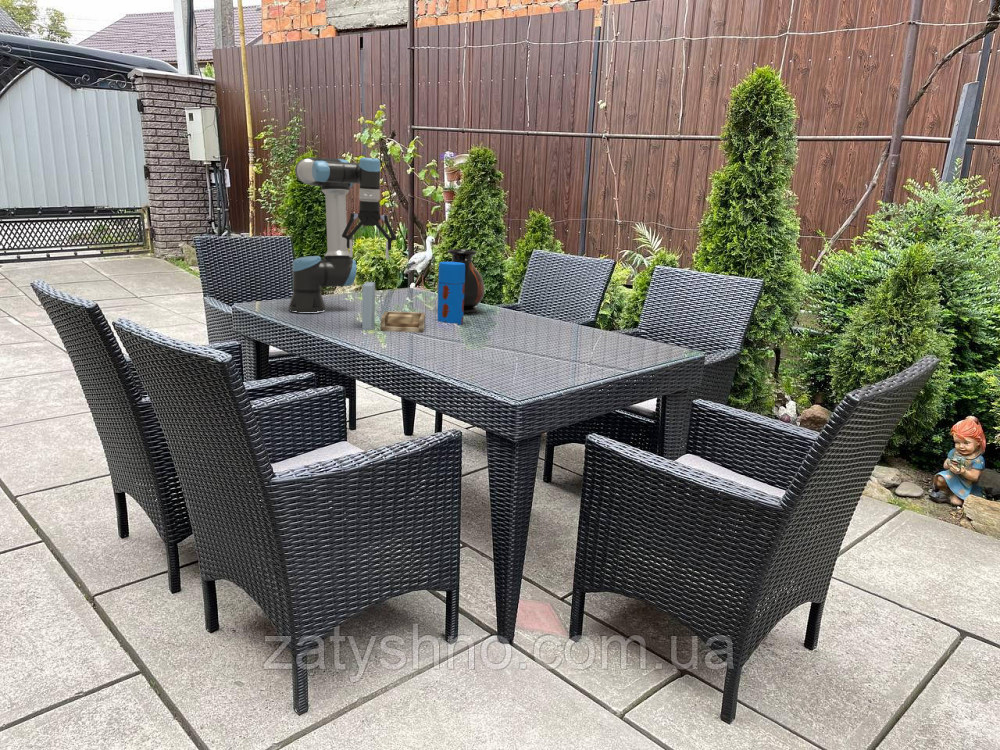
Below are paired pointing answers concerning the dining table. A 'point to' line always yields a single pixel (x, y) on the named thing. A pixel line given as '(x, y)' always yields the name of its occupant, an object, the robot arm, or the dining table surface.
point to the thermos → (451, 292)
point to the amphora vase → (469, 279)
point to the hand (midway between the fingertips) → (369, 257)
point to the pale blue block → (368, 305)
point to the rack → (416, 318)
